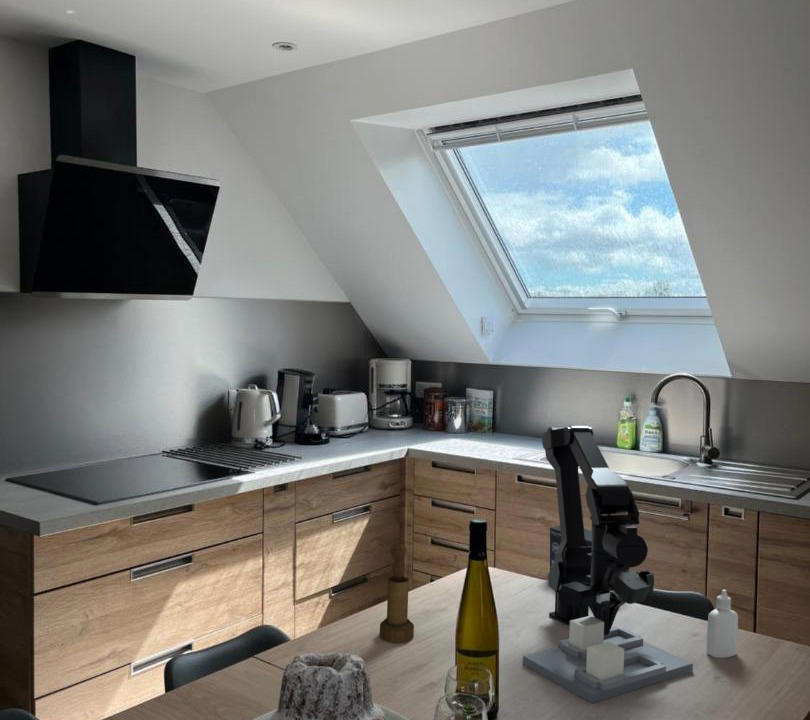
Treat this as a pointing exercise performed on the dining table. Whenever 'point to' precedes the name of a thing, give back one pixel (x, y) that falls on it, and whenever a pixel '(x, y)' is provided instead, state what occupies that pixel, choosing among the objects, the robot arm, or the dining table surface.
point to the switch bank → (639, 671)
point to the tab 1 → (586, 632)
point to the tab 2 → (605, 661)
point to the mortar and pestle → (397, 602)
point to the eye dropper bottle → (722, 629)
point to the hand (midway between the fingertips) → (604, 634)
